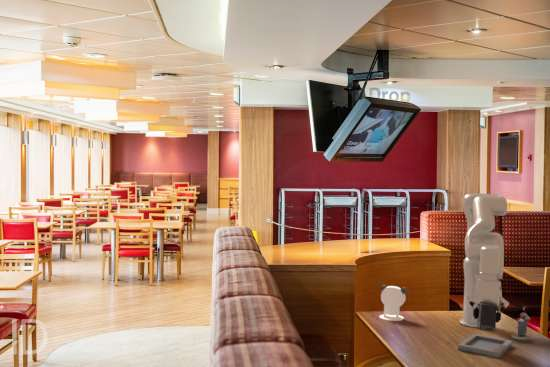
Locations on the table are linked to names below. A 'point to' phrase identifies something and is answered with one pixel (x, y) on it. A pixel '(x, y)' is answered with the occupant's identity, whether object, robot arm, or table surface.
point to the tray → (485, 345)
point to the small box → (487, 316)
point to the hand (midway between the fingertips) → (486, 319)
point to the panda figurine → (392, 302)
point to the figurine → (522, 330)
